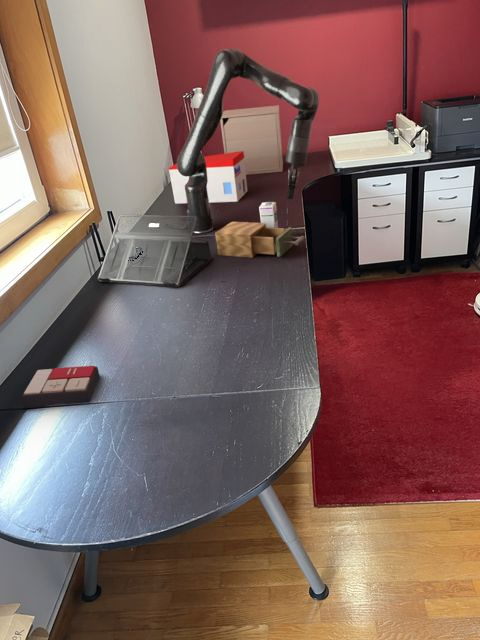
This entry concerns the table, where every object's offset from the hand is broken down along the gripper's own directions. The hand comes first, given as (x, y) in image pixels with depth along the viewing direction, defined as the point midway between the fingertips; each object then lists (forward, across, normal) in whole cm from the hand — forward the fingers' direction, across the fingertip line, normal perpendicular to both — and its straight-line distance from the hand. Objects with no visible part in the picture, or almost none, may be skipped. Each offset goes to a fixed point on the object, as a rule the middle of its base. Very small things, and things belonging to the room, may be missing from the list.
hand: (289, 198), depth 189 cm
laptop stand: (+30, +18, -44) cm, 56 cm away
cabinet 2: (+22, +2, -15) cm, 26 cm away
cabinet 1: (+17, -148, -21) cm, 151 cm away
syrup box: (+19, -8, -4) cm, 21 cm away
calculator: (+34, +93, -48) cm, 110 cm away
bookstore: (+24, -84, -39) cm, 96 cm away
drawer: (+18, +8, -1) cm, 19 cm away
